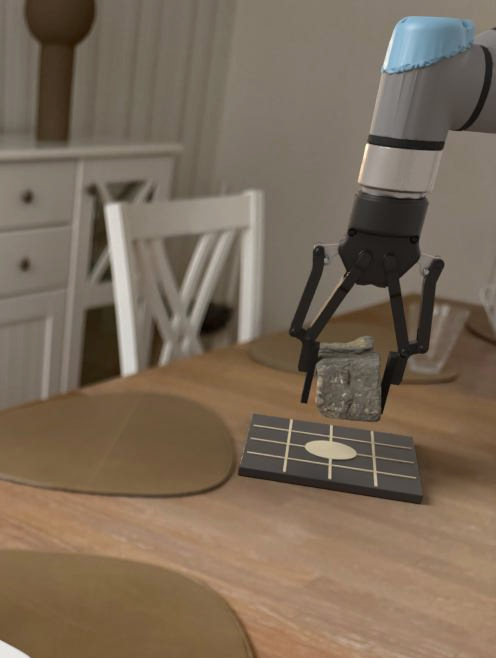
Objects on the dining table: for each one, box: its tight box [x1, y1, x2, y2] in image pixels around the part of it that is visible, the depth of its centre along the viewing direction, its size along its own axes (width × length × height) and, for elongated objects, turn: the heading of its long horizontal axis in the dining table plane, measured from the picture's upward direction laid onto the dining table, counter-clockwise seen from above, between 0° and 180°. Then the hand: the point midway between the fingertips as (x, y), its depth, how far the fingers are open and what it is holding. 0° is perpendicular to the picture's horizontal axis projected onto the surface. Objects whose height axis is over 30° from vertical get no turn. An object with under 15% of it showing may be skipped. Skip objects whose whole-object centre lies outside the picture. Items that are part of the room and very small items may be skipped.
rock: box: [314, 335, 382, 423], centre depth 113 cm, size 17×7×10 cm
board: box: [237, 412, 424, 505], centre depth 117 cm, size 20×20×1 cm
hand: (341, 405), depth 114 cm, fingers closed on rock, 8 cm apart
